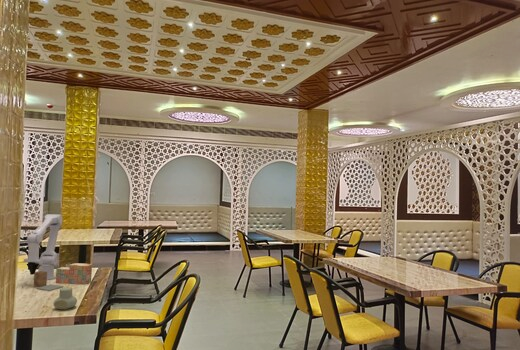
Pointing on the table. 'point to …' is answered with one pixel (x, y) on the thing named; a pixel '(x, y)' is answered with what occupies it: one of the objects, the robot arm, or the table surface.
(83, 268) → the stack of blocks
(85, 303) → the table surface
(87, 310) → the table surface
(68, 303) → the air freshener
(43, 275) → the walnut block
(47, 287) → the slate mat
